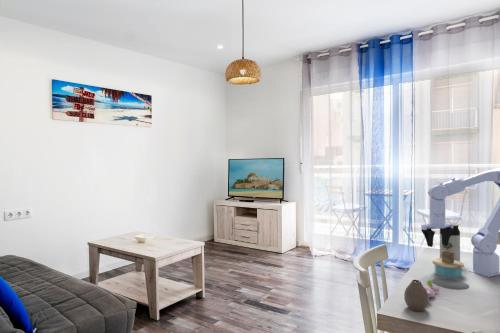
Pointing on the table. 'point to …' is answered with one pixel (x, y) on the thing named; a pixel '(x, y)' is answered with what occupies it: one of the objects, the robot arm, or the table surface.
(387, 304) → the table surface
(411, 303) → the vase
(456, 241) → the travel mug
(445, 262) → the lid
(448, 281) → the mat
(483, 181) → the robot arm
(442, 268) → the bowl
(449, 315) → the table surface
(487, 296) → the table surface
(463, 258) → the table surface
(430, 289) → the rabbit figure
